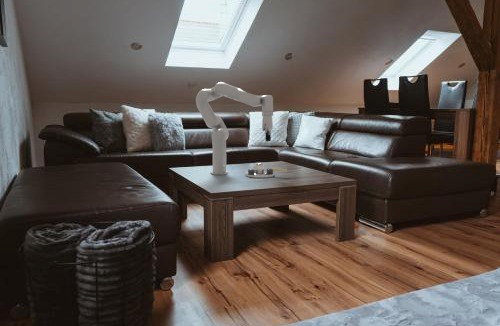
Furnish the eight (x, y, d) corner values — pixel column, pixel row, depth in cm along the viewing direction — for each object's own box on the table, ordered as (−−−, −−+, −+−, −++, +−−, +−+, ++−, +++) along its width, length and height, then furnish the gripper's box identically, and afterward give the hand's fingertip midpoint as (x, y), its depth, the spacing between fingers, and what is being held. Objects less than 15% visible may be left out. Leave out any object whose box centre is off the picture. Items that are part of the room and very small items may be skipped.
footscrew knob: (265, 174, 274) (266, 168, 273) (267, 173, 278) (267, 167, 277) (285, 175, 269) (285, 169, 269) (287, 174, 274) (287, 168, 273)
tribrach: (242, 173, 285) (242, 160, 284) (269, 172, 289) (269, 160, 288) (248, 178, 266) (248, 165, 264) (277, 177, 270) (277, 164, 268)
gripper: (265, 113, 280) (266, 139, 282) (259, 114, 266) (259, 142, 268) (275, 113, 277) (276, 139, 280) (269, 114, 263) (270, 142, 266)
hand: (268, 140), depth 274 cm, fingers closed
